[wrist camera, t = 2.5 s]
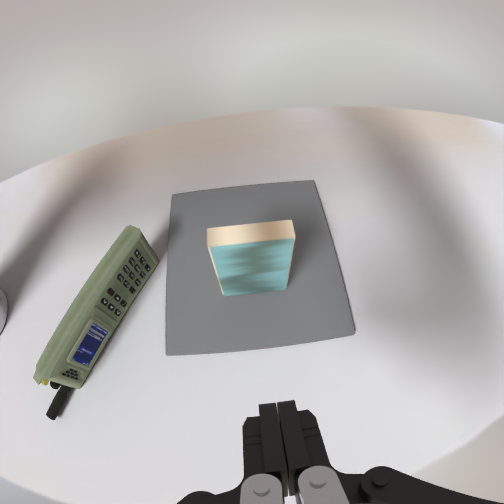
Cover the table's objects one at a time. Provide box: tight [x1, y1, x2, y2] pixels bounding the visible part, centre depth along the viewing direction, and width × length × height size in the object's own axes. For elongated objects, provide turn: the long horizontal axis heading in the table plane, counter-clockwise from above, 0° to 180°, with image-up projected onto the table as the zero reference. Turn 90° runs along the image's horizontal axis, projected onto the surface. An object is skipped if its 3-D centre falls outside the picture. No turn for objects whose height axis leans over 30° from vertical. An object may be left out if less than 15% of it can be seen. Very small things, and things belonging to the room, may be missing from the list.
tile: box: [207, 220, 295, 296], centre depth 27 cm, size 7×2×10 cm, turn 96°
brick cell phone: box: [33, 225, 159, 420], centre depth 27 cm, size 7×3×25 cm
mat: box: [166, 180, 355, 356], centre depth 34 cm, size 20×22×1 cm
